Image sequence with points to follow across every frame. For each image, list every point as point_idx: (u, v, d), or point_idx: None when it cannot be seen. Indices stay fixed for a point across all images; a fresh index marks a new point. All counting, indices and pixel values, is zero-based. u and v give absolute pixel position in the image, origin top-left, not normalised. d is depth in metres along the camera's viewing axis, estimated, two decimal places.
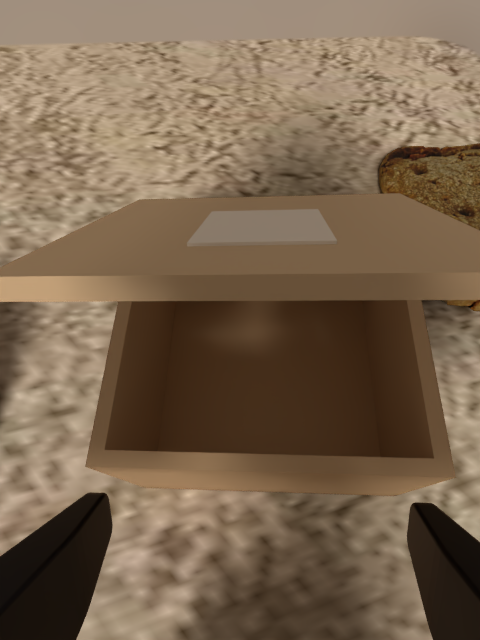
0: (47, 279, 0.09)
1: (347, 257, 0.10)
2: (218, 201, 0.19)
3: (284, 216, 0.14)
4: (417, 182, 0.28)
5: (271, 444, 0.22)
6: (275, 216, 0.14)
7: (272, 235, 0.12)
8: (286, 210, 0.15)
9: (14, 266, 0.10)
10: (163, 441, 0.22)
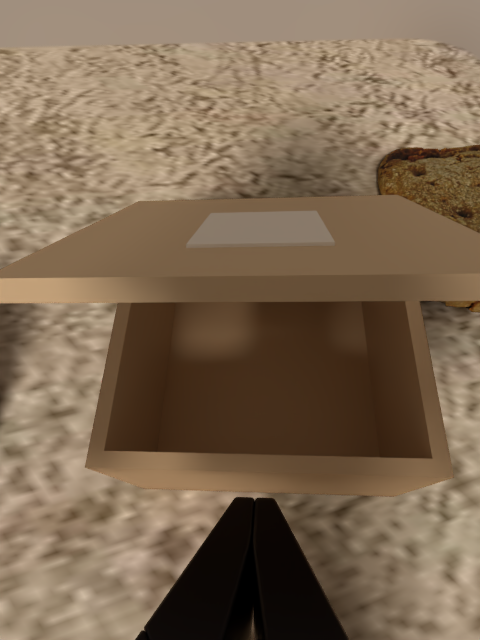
0: (47, 281, 0.09)
1: (345, 258, 0.10)
2: (217, 203, 0.19)
3: (283, 218, 0.14)
4: (416, 183, 0.28)
5: (270, 445, 0.22)
6: (274, 218, 0.14)
7: (270, 237, 0.12)
8: (285, 212, 0.15)
9: (14, 268, 0.10)
10: (162, 442, 0.22)
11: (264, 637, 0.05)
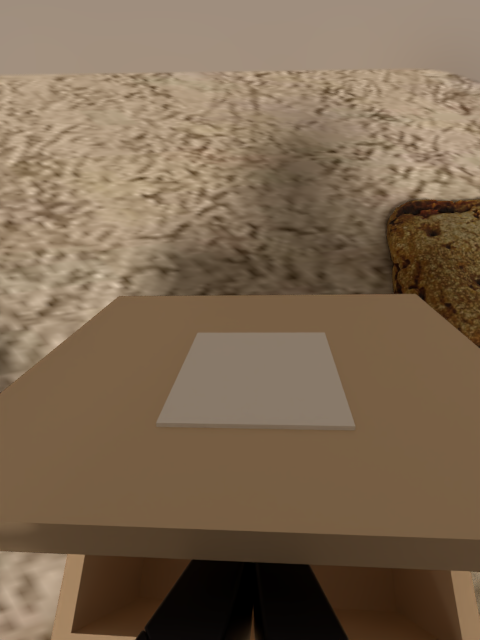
0: None
1: (373, 475, 0.07)
2: (208, 304, 0.16)
3: (284, 350, 0.12)
4: (430, 246, 0.25)
5: None
6: (273, 350, 0.12)
7: (269, 406, 0.09)
8: (286, 334, 0.13)
9: None
10: None
11: (264, 637, 0.05)
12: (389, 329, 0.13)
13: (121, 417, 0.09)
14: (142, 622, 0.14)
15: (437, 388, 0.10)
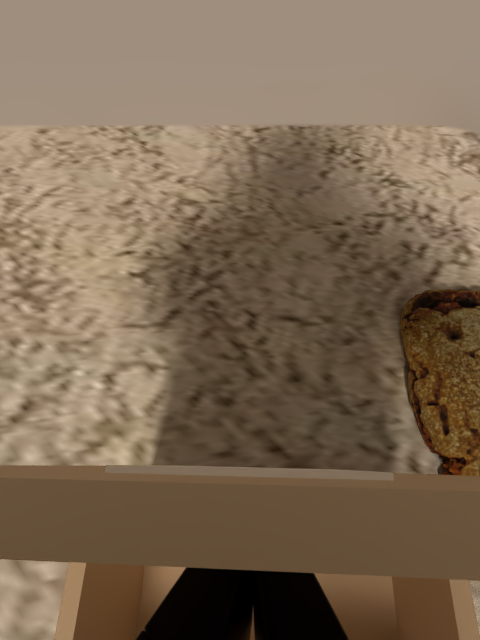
0: None
1: (434, 484, 0.04)
2: None
3: (288, 468, 0.09)
4: (451, 353, 0.22)
5: None
6: None
7: None
8: None
9: None
10: None
11: (264, 637, 0.05)
12: (418, 475, 0.11)
13: (58, 470, 0.06)
14: None
15: None
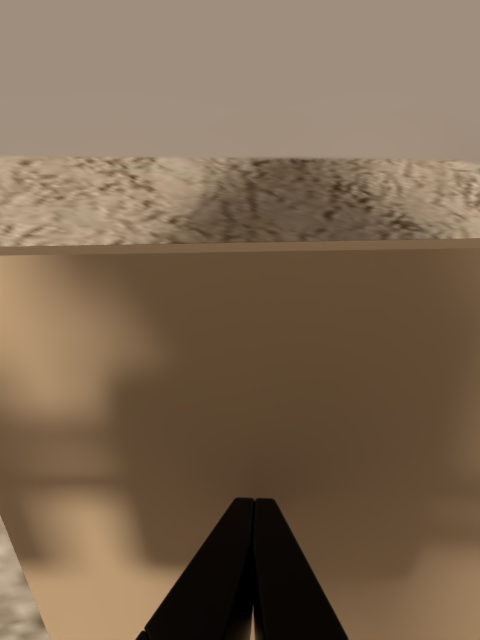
0: None
1: None
2: None
3: None
4: None
5: None
6: None
7: None
8: None
9: None
10: None
11: (264, 637, 0.05)
12: None
13: None
14: None
15: None
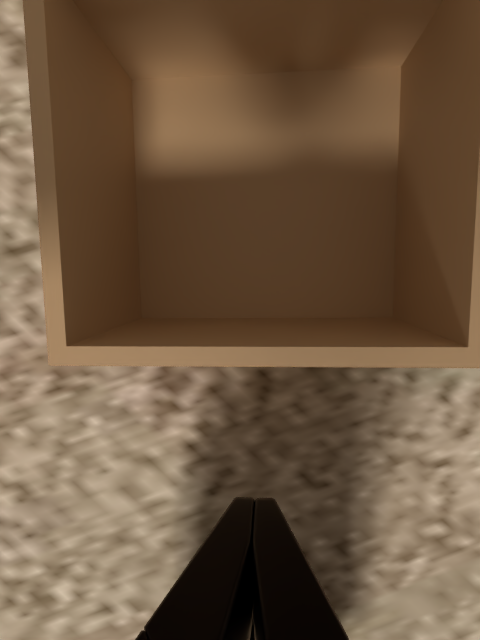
0: None
1: None
2: None
3: None
4: None
5: (269, 281, 0.19)
6: None
7: None
8: None
9: None
10: (145, 282, 0.20)
11: (264, 637, 0.05)
12: None
13: None
14: (141, 335, 0.14)
15: None
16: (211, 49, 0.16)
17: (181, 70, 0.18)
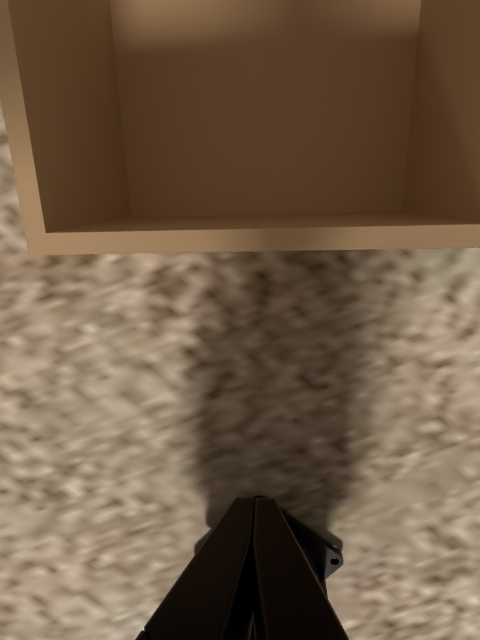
0: None
1: None
2: None
3: None
4: None
5: (268, 172, 0.17)
6: None
7: None
8: None
9: None
10: (132, 176, 0.18)
11: (264, 637, 0.05)
12: None
13: None
14: (129, 225, 0.13)
15: None
16: None
17: None
